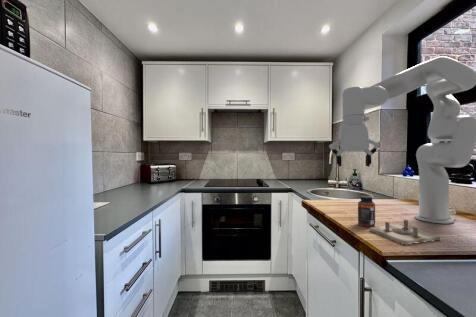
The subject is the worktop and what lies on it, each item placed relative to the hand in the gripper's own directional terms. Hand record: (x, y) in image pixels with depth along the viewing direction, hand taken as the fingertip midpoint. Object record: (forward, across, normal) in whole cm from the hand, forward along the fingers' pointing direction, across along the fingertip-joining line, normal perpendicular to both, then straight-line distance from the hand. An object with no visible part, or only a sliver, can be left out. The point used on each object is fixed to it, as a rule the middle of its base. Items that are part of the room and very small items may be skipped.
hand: (353, 166), depth 91 cm
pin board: (+23, -14, +6) cm, 28 cm away
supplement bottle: (+24, -5, -4) cm, 24 cm away
